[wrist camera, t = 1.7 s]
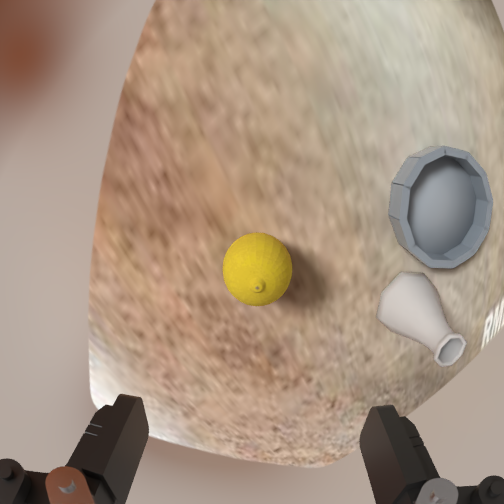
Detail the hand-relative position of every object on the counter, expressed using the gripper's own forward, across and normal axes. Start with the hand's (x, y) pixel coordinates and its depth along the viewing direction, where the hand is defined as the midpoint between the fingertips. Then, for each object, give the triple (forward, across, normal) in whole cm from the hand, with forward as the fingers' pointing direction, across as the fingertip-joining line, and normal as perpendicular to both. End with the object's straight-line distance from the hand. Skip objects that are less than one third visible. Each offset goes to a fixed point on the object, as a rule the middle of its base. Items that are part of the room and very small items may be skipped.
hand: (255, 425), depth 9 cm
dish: (+20, -18, -6) cm, 28 cm away
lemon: (+20, 0, 0) cm, 20 cm away
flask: (+20, -16, +4) cm, 26 cm away
